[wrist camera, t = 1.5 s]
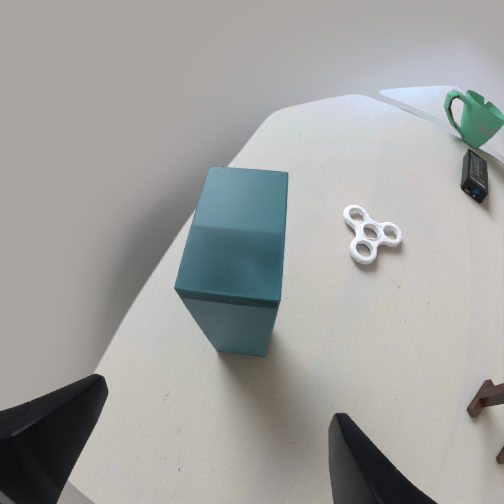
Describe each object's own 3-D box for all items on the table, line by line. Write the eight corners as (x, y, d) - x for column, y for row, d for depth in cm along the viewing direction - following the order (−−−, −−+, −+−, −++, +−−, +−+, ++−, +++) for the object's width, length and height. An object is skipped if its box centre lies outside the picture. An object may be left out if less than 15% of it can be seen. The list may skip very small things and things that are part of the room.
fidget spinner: (402, 232, 27) (405, 228, 26) (388, 279, 24) (391, 276, 23) (347, 204, 29) (349, 199, 28) (325, 247, 26) (327, 242, 25)
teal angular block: (265, 356, 21) (280, 301, 10) (216, 350, 21) (173, 288, 10) (272, 281, 24) (288, 171, 13) (228, 277, 25) (209, 166, 13)
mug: (475, 133, 41) (491, 101, 33) (493, 162, 36) (513, 127, 28) (426, 114, 42) (441, 75, 34) (443, 141, 38) (463, 99, 29)
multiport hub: (481, 170, 34) (486, 161, 32) (481, 204, 30) (488, 194, 28) (463, 156, 36) (468, 147, 34) (460, 188, 31) (467, 178, 29)
